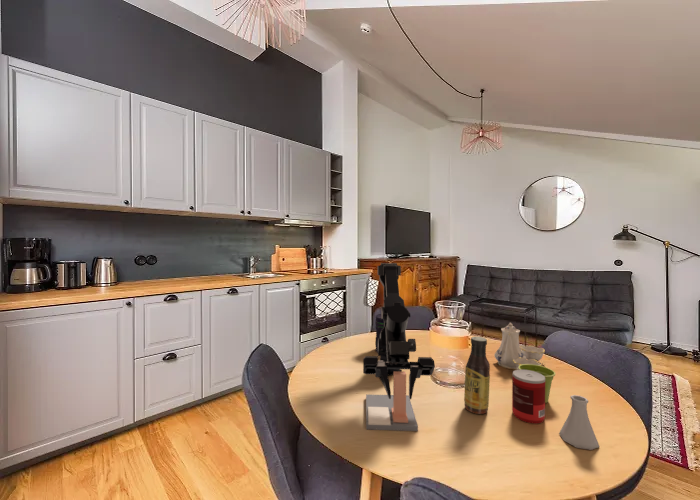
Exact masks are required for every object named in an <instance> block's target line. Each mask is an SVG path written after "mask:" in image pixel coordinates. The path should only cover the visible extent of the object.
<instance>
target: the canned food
mask: <svg viewBox="0 0 700 500" xmlns="http://www.w3.org/2000/svg"><path fill="white" fill-rule="evenodd" d="M511 378H512V380H511V384H512V385H511V391H512V392H511V395H512V400H511V401H512V403H511V410H512V413H513V416H514V417H515V418H516V419H518V420H520V421H522V422H524V423H529V424H532V425H533V424H541V423H543V422H544V421H545V418H546V403H545V377H544V376H543V375H542V374H540V373H537V372H534V371H531V370H517V369H514V370H513V371H512V377H511Z"/></svg>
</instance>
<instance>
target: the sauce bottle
mask: <svg viewBox="0 0 700 500" xmlns="http://www.w3.org/2000/svg"><path fill="white" fill-rule="evenodd" d="M470 344H471V347H470V349H471V350H470V354H469V357H468V360H467V362H466V365H465V372H464V373H465V375H464V377H465V378H464V398H463V400H464V401H463V402H464V407H465V409H466V410H467V411H468V412H470V413H472V414H475V415H484V414H486V413H488V411H489V403H490V381H491V380H490V379H491V377H490V376H491V375H490V370H491V363H490V362H489V360H488V359H487V353H486V352H487V344H488V340H487V339H486V338H485V337H482V336H472V337H471V338H470Z"/></svg>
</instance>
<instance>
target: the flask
mask: <svg viewBox="0 0 700 500" xmlns="http://www.w3.org/2000/svg"><path fill="white" fill-rule="evenodd" d="M569 398H570V400H571V407H570V410H569V413H568V415H567V418H566V420H565V421H564V423H563V425H562V427H561V429H560V431H559V433H558V434H559V435H560V437H561V439H562V440H563V442H564V441H565V442H566V443H568V444H569V445H571V446H572V447H575V448H576V449H584V450H590V451H592V450H596V449H597V448H599V447H600V444H599V442H598V439H597V437H596V435H595V432H594V429H593V426H592V423H591V420H590V418H589V414H588V410H587V408H588V407H587V405H588V403H589V400H588V398H586V397H584V396H581V395H576V394H573V395H570V397H569Z"/></svg>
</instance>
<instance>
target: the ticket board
mask: <svg viewBox="0 0 700 500" xmlns="http://www.w3.org/2000/svg"><path fill="white" fill-rule="evenodd" d="M392 408H393V394H391V399H389V397H388V395H387V394H365V414H366V416H365V418H366V419H365V421H366V422H365V424H366V427H365V428H366V429H365V430H374V431H404V432H405V431H407V432H408V431H409V432H418V431H419V425H418V422H417V421H418V420H417V418H416V416H415V412H414V408H413V405H412V401H411V399H410V398H409V394H406V413H407V417H408V423H400V422H393V416H392Z"/></svg>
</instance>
